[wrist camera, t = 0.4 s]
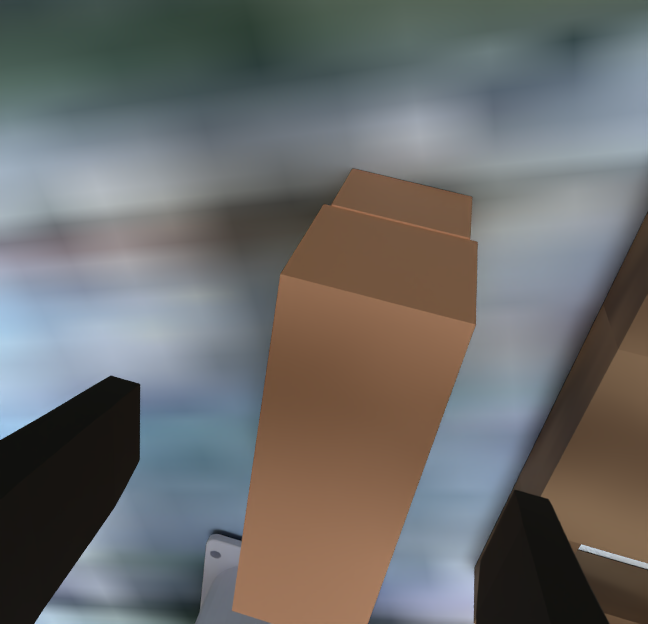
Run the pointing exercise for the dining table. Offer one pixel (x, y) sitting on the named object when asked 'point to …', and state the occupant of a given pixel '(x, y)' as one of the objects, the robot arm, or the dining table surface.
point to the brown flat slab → (603, 447)
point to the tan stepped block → (354, 396)
